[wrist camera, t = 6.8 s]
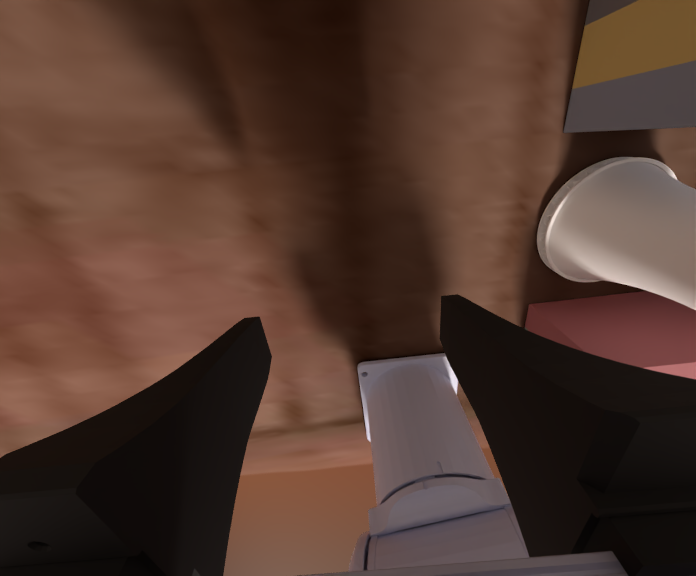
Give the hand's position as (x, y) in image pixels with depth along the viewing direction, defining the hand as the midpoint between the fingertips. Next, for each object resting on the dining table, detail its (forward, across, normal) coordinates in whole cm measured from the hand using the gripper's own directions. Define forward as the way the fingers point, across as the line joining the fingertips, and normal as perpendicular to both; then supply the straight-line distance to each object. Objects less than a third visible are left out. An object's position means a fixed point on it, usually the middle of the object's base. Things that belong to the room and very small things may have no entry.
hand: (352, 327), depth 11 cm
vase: (+8, -16, 0) cm, 18 cm away
